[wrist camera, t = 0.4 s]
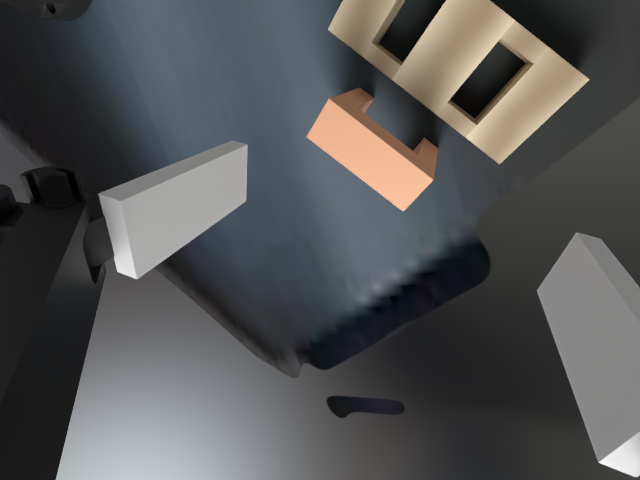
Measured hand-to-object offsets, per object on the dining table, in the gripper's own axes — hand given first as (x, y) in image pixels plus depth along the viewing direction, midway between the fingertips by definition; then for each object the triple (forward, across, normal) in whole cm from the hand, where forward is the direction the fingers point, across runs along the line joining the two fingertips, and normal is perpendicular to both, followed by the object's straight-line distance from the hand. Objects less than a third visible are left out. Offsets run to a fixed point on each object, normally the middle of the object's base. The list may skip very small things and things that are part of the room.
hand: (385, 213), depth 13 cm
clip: (+23, -3, -2) cm, 23 cm away
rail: (+23, 0, +6) cm, 24 cm away
